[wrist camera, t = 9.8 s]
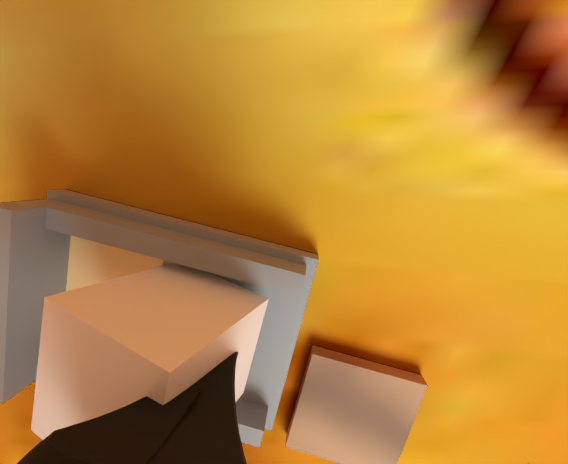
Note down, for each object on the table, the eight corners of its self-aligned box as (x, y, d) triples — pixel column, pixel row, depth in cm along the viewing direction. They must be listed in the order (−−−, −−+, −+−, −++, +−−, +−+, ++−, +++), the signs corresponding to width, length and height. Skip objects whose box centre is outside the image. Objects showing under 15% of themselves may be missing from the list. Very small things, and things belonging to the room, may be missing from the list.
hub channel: (273, 415, 16) (262, 489, 12) (50, 351, 17) (-27, 401, 13) (317, 254, 14) (320, 282, 11) (63, 188, 15) (-23, 191, 11)
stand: (387, 463, 16) (391, 478, 15) (286, 434, 17) (285, 447, 16) (421, 375, 15) (427, 385, 14) (312, 345, 15) (312, 354, 15)
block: (268, 298, 13) (169, 372, 7) (243, 392, 14) (138, 523, 8) (181, 260, 14) (44, 296, 9) (164, 347, 15) (31, 430, 10)
